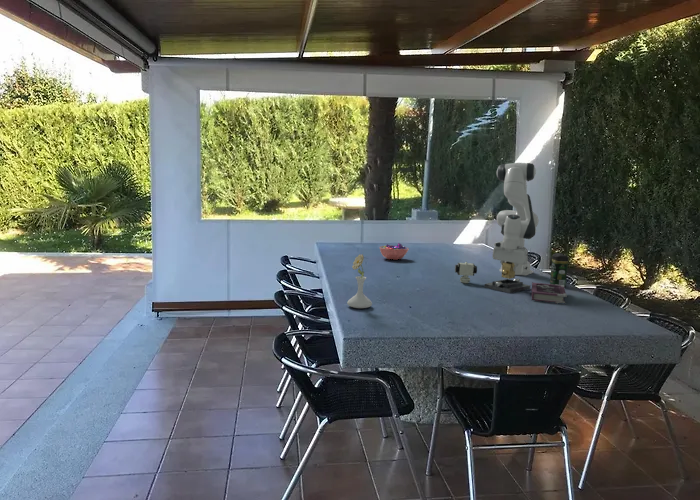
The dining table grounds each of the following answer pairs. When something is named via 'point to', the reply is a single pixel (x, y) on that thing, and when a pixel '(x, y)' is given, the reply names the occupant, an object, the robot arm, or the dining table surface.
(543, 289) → the book
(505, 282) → the plate
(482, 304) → the dining table surface
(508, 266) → the brass valve
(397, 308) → the dining table surface
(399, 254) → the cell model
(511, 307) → the dining table surface
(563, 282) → the coffee jar
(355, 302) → the flower in vase
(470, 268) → the pneumatic valve
